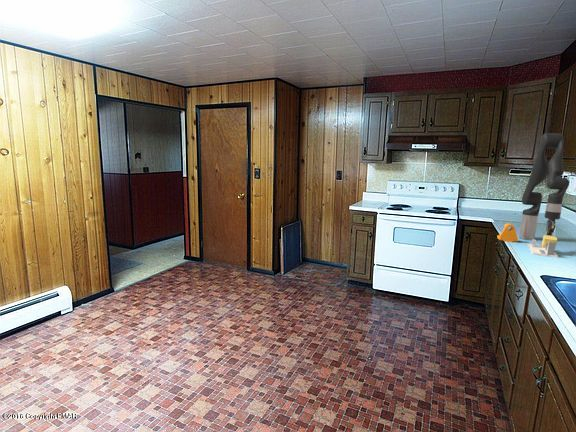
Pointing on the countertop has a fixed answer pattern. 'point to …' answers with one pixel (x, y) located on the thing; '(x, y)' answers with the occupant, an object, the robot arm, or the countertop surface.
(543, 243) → the yellow block
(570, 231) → the countertop surface
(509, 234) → the bracket
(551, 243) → the rail plate
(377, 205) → the countertop surface
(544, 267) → the countertop surface
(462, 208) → the countertop surface
